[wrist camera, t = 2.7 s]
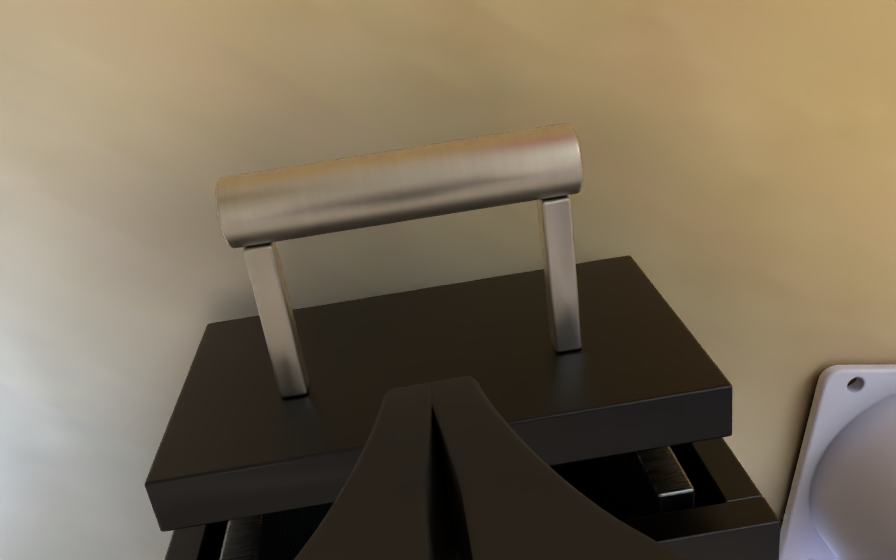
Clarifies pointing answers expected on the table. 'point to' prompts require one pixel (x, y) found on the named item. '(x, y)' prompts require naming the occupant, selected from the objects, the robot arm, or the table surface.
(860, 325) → the table surface
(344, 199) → the drawer
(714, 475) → the cabinet
